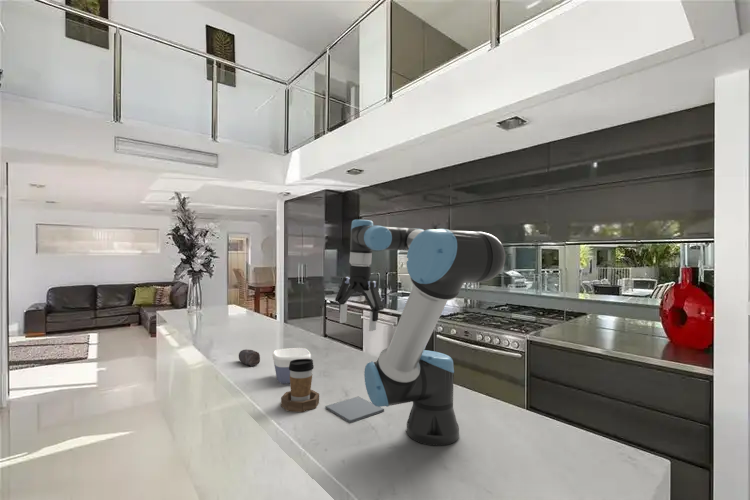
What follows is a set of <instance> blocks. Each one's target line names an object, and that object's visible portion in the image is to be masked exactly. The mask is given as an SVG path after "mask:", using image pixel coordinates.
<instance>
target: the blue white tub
mask: <svg viewBox="0 0 750 500" xmlns="http://www.w3.org/2000/svg"><path fill="white" fill-rule="evenodd" d="M311 357H312V354H311V352H310V351H309V350H308V349H307V348H305V347H294V348H293V347H291V348H289V347H288V348H279V349H275V350H274V351H273V352H272V360H273V365H274V371H275V375H276V380H277V381H278V382H279V383H280V384H281V385H282V384H283V385H287V384H290V370H289V365H290V361H292V360H296V359H311Z"/></svg>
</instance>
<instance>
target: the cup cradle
mask: <svg viewBox="0 0 750 500" xmlns="http://www.w3.org/2000/svg"><path fill="white" fill-rule="evenodd" d="M319 404H320V393H318V391H315V390H313V389H311V391H310V400H306V401H303V402H302V401H291V390H289V391H286V392H284V394H283V395H282V396H281V398H280V407H281V408H282V409H284V410H285V411H287V412H296V413H304V412H308V411H310V410H314V409H317V407H318V405H319Z"/></svg>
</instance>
